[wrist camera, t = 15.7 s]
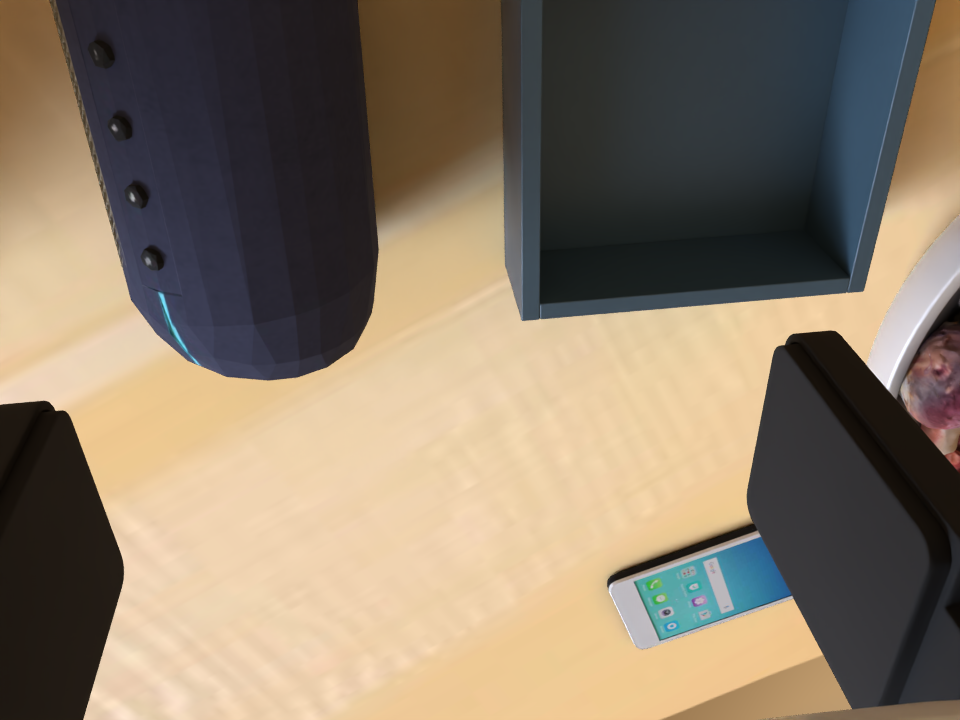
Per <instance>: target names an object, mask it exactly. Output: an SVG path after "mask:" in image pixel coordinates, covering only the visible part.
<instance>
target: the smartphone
mask: <svg viewBox="0 0 960 720" xmlns="http://www.w3.org/2000/svg"><path fill="white" fill-rule="evenodd" d="M607 587H608V590H609V592H610V595H611V597H612V599H613V601H614V603H615V605H616V607H617V609H618V612H619V614H620V616H621V618H622V620H623V622H624V624H625V626H626V629H627V631H628V633H629V635H630V637H631V639H632V641H633V643H634V644H635V646H636V647H637V648H639V649H648V648H651V647H654V646H657V645H659V644H662V643H665V642H668V641H671V640H674V639H677V638H680V637H683V636H686V635H689V634H692V633H695V632H697V631H700V630H703V629H706V628H709V627H712V626H715V625H718V624H721V623H724V622H727V621H730V620H733V619H735V618H738V617H741V616H744V615H747V614H750V613H753V612H756V611H759V610H762V609H765V608H768V607H770V606H773V605H776V604H779V603H782V602H785V601H788V600H791V599H794V598H793V596H792V594H791V592H790V591H789V589H788V587H787V585H786V583H785V581H784V579H783V577H782V575H781V574H780V572H779V570H778V568H777V566H776V564H775V562H774V560H773V558H772V557H771V555H770V553H769V551H768V549H767V547H766V545H765V543H764V541H763V540H762V538H761V536H760V534H759V532H758V530H757V528H756V526H755V524H754V525H751V526H748V527H746V528H743V529H740V530H737V531H734V532H732V533H729V534H726V535H723V536H720V537H717V538H715V539H712V540H709V541H706V542H703V543H701V544H698V545H695V546H692V547H689V548H686V549H684V550H681V551H678V552H675V553H672V554H670V555H667V556H664V557H661V558H658V559H655V560H653V561H650V562H647V563H644V564H641V565H639V566H636V567H633V568H630V569H627V570H624V571H622V572H619V573H616V574H614V575H612V576H610V578H609V579H608V582H607Z"/></svg>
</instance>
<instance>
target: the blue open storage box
mask: <svg viewBox="0 0 960 720" xmlns="http://www.w3.org/2000/svg"><path fill="white" fill-rule="evenodd" d="M935 3H936V0H501V29H502V95H503V161H504V228H505V266H506V269H507V273H508V276H509V279H510V283H511V286H512V289H513V293H514V296H515V299H516V303H517V306H518V309H519V313H520V316H521V319H522V321H526V320H538V319H539V318H540V319H548V318H560V317H572V316H583V315H595V314H607V313H618V312H630V311H642V310H653V309H665V308H677V307H688V306H700V305H712V304H723V303H735V302H746V301H758V300H770V299H781V298H793V297H805V296H816V295H828V294H840V293H846V292H847V293H852V292H863V291H864V288H865V284H866V280H867V276H868V272H869V268H870V264H871V260H872V256H873V252H874V248H875V244H876V240H877V236H878V232H879V228H880V224H881V220H882V216H883V212H884V208H885V204H886V200H887V196H888V192H889V188H890V184H891V180H892V176H893V172H894V168H895V164H896V159H897V155H898V151H899V147H900V143H901V139H902V135H903V131H904V127H905V123H906V119H907V115H908V111H909V107H910V103H911V99H912V95H913V91H914V87H915V83H916V79H917V75H918V71H919V67H920V63H921V59H922V55H923V51H924V47H925V43H926V39H927V35H928V31H929V27H930V23H931V19H932V15H933V11H934V7H935Z"/></svg>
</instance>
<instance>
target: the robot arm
mask: <svg viewBox="0 0 960 720" xmlns="http://www.w3.org/2000/svg"><path fill="white" fill-rule="evenodd" d="M747 505H748V510H749V514H750V516H751V519H752V521H753V523H754V524H755V526H756V528H757V530H758V532H759V534H760V536H761V538H762V540H763V541H764V543H765V545H766V547H767V549H768V551H769V553H770V555H771V557H772V558H773V560H774V562H775V564H776V566H777V568H778V570H779V572H780V574H781V575H782V577H783V579H784V581H785V583H786V585H787V587H788V589H789V591H790V592H791V594H792V596H793V598H794V600H795V602H796V604H797V606H798V608H799V610H800V611H801V613H802V615H803V617H804V619H805V621H806V623H807V625H808V627H809V628H810V630H811V632H812V634H813V636H814V638H815V640H816V642H817V644H818V645H819V647H820V649H821V651H822V653H823V655H824V657H825V659H826V661H827V662H828V664H829V666H830V668H831V670H832V672H833V674H834V676H835V678H836V679H837V681H838V683H839V685H840V687H841V689H842V691H843V693H844V695H845V696H846V698H847V700H848V702H849V704H850V706H851V708H852V709H851V710H841V711H831V712H822V713H812V714H802V715H794V716H785V717H777V718H769V719H760V720H960V473H959V472H958V471H957V470H956V468H955V467H954V466H953V465H952V464H951V463H950V461H949V460H948V459H947V458H946V457H945V456H944V455H943V453H942V452H941V451H940V450H939V449H938V448H937V446H936V445H935V444H934V443H933V442H932V441H931V439H930V438H929V437H928V436H927V435H926V434H925V432H924V431H923V430H922V429H921V428H920V427H919V426H918V424H917V423H916V422H915V421H914V420H913V419H912V417H911V416H910V415H909V414H908V413H907V412H906V410H905V409H904V408H903V407H902V406H901V405H900V404H899V402H898V401H897V400H896V399H895V398H894V397H893V395H892V394H891V393H890V392H889V391H888V390H887V388H886V387H885V386H884V385H883V384H882V383H881V381H880V380H879V379H878V378H877V377H876V376H875V375H874V373H873V372H872V371H871V370H870V369H869V368H868V366H867V365H866V364H865V363H864V362H863V361H862V359H861V358H860V357H859V356H858V355H857V354H856V353H855V351H854V350H853V349H852V348H851V347H850V346H849V344H848V343H847V342H846V341H845V340H844V339H843V337H842V336H841V335H840V334H838V333H837V332H836V331H820V332H809V333H798V334H792V335H791V336H789V338H788V339H787V341H786V344H785V345H782V346H778V347H777V348H776V349H775V351H774V354H773V358H772V363H771V369H770V374H769V379H768V384H767V390H766V395H765V400H764V405H763V411H762V416H761V421H760V426H759V432H758V437H757V442H756V447H755V453H754V458H753V463H752V468H751V473H750V479H749V484H748V489H747ZM123 578H124V566H123V559H122V556H121V553H120V550H119V547H118V545H117V542H116V539H115V537H114V534H113V531H112V529H111V526H110V523H109V520H108V518H107V515H106V512H105V510H104V507H103V504H102V501H101V499H100V496H99V493H98V491H97V488H96V485H95V483H94V480H93V477H92V474H91V472H90V469H89V466H88V464H87V461H86V458H85V455H84V453H83V450H82V447H81V445H80V442H79V439H78V437H77V434H76V431H75V428H74V426H73V423H72V420H71V418H70V416H69V414H68V413H67V412H66V411H63V410H62V411H55V409H54V407H53V406H52V405H51V404H50V403H49V402H47V401H36V402H25V403H14V404H3V405H0V720H83V718H84V715H85V712H86V708H87V705H88V701H89V698H90V694H91V691H92V688H93V684H94V681H95V677H96V674H97V671H98V667H99V664H100V660H101V657H102V653H103V650H104V647H105V643H106V640H107V636H108V633H109V630H110V626H111V623H112V619H113V616H114V612H115V609H116V606H117V602H118V599H119V595H120V592H121V589H122V585H123Z"/></svg>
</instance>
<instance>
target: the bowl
mask: <svg viewBox="0 0 960 720" xmlns="http://www.w3.org/2000/svg"><path fill="white" fill-rule="evenodd" d="M867 366H868V368H869V369H870V370H871V371H872V372H873V373H874V375H875V376H876V377H877V378H878V379H879V380H880V381H881V383H882V384H883V385H884V386H885V387H886V388H887V390H888V391H889V392H890V393H891V394H892V395H893V397H894V398H895V399H896V400H897V401H898V402H899V404H900V405H901V406H902V407H903V408H904V409H905V410H906V412H907V413H908V414H909V415H910V416H911V417H912V419H913V420H914V421H915V422H916V423H917V424H918V426H919V427H920V428H921V429H922V430H923V431H924V432H925V434H926V435H927V436H928V437H929V438H930V439H931V441H932V442H933V443H934V444H935V445H936V446H937V448H938V449H939V450H940V451H941V452H942V453H943V455H944V456H945V457H946V458H947V459H948V460H949V461H950V463H951V464H952V465H953V466H954V467H955V468H956V470H957V471H958V472H959V473H960V214H959V215H958V216H957V217H956V218H955V219H954V220H953V221H952V222H951V223H950V224H949V225H948V226H947V227H946V229H945V230H944V231H943V232H942V233H941V234H940V235H939V236H938V237H937V239H936V240H935V241H934V242H933V243H932V245H931V246H930V247H929V248H928V249H927V251H926V252H925V253H924V255H923V256H922V257H921V259H920V260H919V261H918V263H917V264H916V265H915V267H914V268H913V269H912V271H911V272H910V274H909V275H908V277H907V278H906V280H905V281H904V283H903V284H902V286H901V288H900V289H899V291H898V293H897V294H896V296H895V298H894V300H893V301H892V303H891V305H890V307H889V309H888V311H887V313H886V315H885V317H884V319H883V321H882V323H881V325H880V328H879V330H878V333H877V335H876V338H875V340H874V343H873V345H872V348H871V352H870V355H869V358H868V361H867Z"/></svg>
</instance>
